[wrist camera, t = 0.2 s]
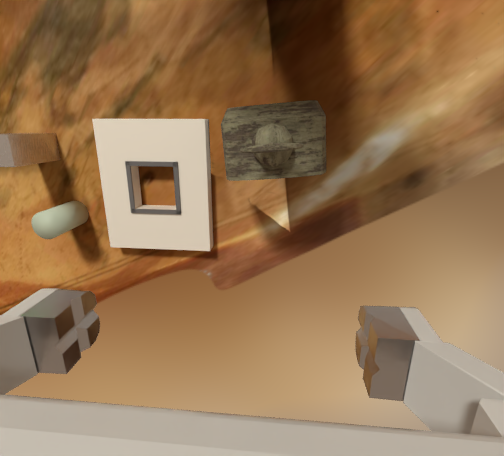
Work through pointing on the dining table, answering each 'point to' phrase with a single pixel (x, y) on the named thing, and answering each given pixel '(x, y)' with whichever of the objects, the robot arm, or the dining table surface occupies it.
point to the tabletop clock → (274, 141)
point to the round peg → (59, 219)
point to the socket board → (156, 154)
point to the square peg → (28, 149)
